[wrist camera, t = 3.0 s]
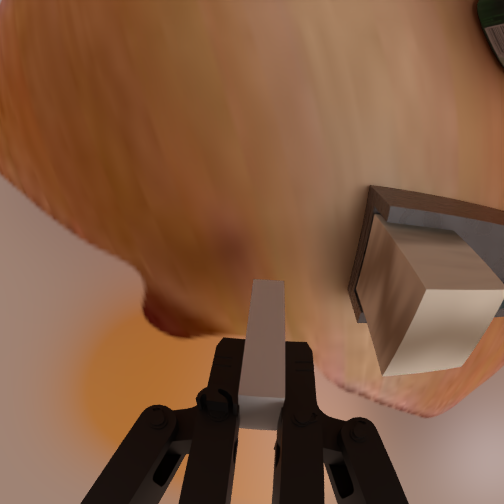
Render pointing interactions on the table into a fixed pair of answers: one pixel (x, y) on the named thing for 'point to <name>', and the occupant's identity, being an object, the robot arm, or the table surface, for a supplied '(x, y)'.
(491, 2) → the coffee jar
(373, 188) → the chute
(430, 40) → the table surface
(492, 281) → the block
